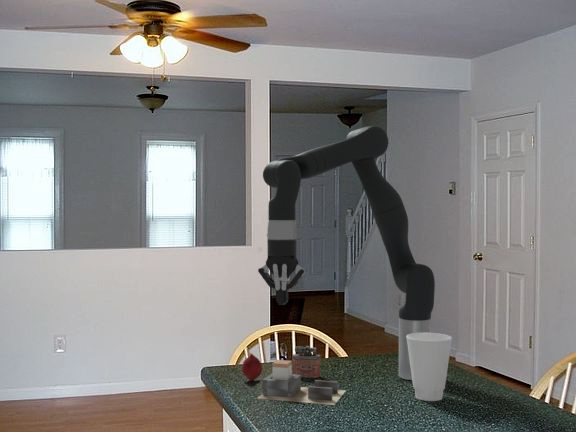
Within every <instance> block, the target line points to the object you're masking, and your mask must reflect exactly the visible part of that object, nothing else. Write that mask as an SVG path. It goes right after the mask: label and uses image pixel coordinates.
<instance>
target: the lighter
mask: <svg viewBox="0 0 576 432" xmlns="http://www.w3.org/2000/svg"><path fill="white" fill-rule="evenodd" d="M294 352H298V353H295V354H292V357H291V358H292V374H295V375H301V378H306V379H307V378H310V379H311V378H313V379H314V378H315V379H316V378H321V357H322V356H321V354H317V347H311V346H309V345H306V346H305V347H304V346H295V347H294Z"/></svg>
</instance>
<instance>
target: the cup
mask: <svg viewBox="0 0 576 432" xmlns="http://www.w3.org/2000/svg"><path fill="white" fill-rule="evenodd" d="M406 338H407V344H408V352H409V359H410V367H411V374H412V380H411V381H412V386H413V389H414V394H415V395H414V396H415V399H417V400H420V401H425V402H436V401H441V400H442V399H443V393H444V390H446V382H447V375H448V368H449V361H450V354H451V347H452V341H453V337H452V336H451V335H449V334H444V333H438V332H431V333H412V334H408V335H407V336H406Z"/></svg>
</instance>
